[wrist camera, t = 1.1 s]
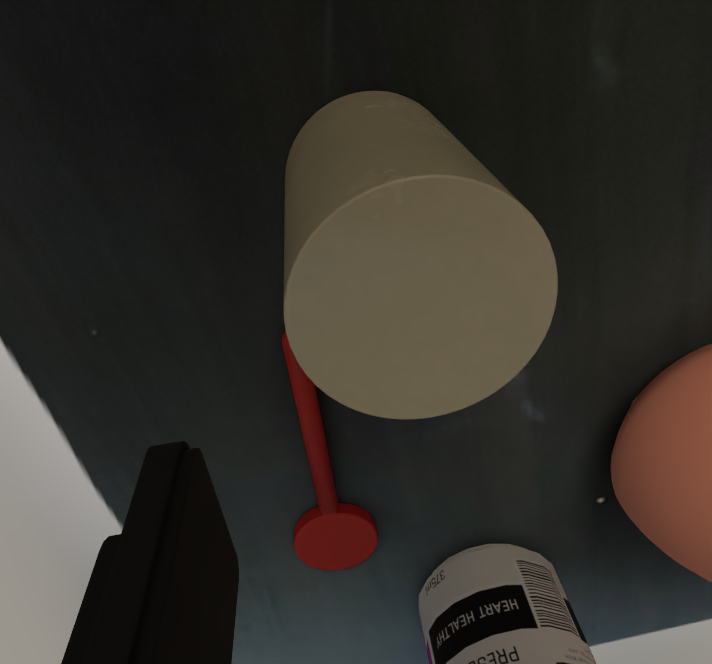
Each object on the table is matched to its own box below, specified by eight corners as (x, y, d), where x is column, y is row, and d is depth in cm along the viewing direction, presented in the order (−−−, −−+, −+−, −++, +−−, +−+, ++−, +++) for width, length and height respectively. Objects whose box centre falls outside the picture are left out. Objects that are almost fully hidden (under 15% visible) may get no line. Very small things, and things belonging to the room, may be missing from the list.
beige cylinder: (269, 105, 21) (256, 200, 12) (452, 77, 21) (567, 153, 12) (300, 271, 24) (308, 438, 15) (458, 247, 24) (552, 399, 16)
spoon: (239, 332, 25) (237, 344, 24) (343, 315, 25) (345, 327, 24) (301, 564, 33) (301, 580, 32) (380, 551, 33) (382, 566, 32)
